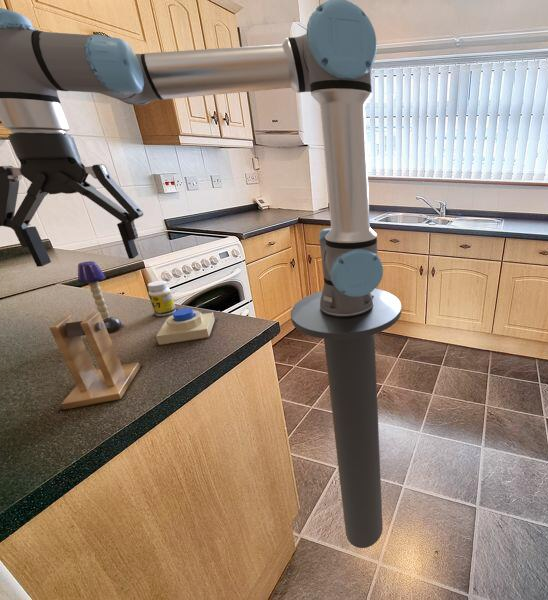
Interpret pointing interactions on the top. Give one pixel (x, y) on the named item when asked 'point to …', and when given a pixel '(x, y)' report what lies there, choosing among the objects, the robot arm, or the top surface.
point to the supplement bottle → (161, 298)
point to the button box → (186, 328)
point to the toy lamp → (93, 284)
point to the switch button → (183, 314)
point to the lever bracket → (89, 380)
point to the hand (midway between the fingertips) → (90, 260)
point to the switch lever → (76, 330)
